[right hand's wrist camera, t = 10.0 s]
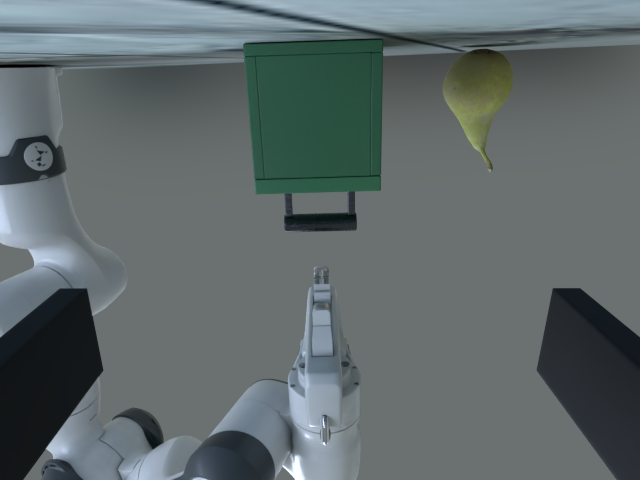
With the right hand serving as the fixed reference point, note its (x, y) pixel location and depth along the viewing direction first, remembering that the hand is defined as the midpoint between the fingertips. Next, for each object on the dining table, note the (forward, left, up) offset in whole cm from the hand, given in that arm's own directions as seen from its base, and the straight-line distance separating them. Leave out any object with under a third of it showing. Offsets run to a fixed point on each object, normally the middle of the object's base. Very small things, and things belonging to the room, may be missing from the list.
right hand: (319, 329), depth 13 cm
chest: (+18, +22, -9) cm, 30 cm away
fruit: (+11, +40, -9) cm, 43 cm away
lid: (+18, +22, 0) cm, 29 cm away
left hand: (+22, +26, +15) cm, 37 cm away
